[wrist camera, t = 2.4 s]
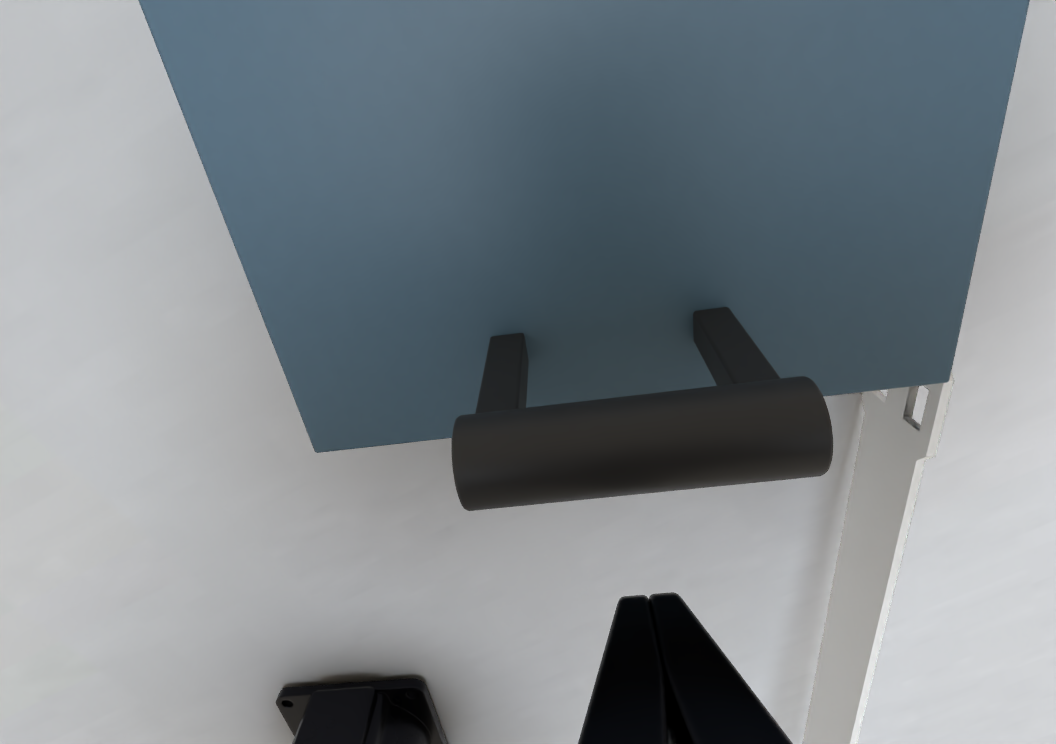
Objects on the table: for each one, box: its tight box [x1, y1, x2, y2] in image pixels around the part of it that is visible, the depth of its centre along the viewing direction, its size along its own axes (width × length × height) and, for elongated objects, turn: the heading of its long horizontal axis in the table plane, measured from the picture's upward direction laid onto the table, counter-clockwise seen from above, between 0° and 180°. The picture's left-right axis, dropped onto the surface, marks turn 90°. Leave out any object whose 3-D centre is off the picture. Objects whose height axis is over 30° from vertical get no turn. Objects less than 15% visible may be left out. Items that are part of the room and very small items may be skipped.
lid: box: [139, 0, 1029, 511], centre depth 9 cm, size 9×14×5 cm, turn 99°
